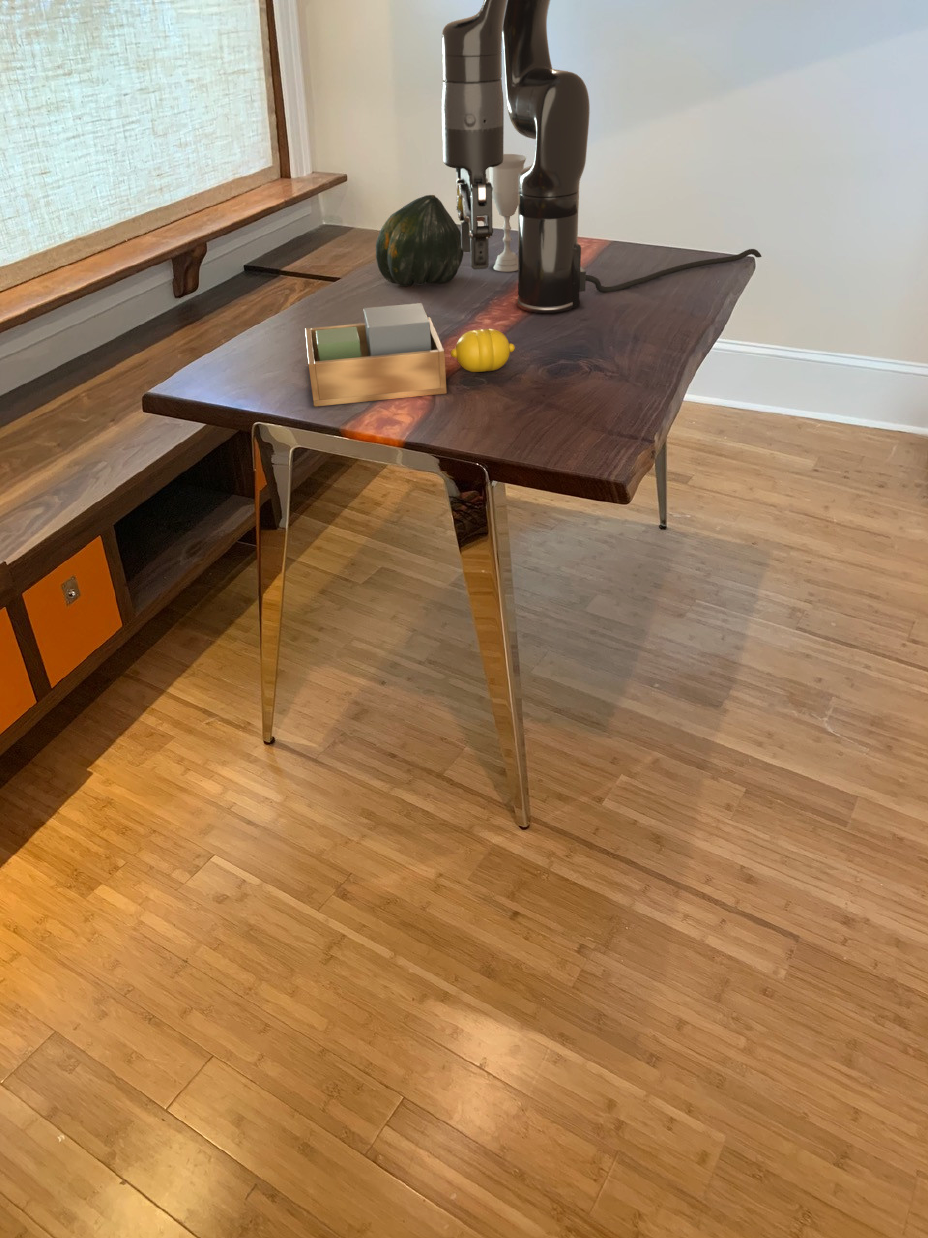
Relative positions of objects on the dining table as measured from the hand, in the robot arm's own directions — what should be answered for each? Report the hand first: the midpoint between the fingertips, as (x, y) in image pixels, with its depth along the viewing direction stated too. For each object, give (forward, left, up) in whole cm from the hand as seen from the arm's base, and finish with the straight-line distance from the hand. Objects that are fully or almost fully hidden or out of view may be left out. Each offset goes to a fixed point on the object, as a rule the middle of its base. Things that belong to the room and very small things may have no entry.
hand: (474, 259), depth 125 cm
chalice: (-14, -45, -15) cm, 49 cm away
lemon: (-1, +1, -15) cm, 15 cm away
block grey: (+11, +1, -15) cm, 18 cm away
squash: (+2, -41, -15) cm, 44 cm away
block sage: (+19, +1, -15) cm, 24 cm away
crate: (+14, +1, -15) cm, 21 cm away
